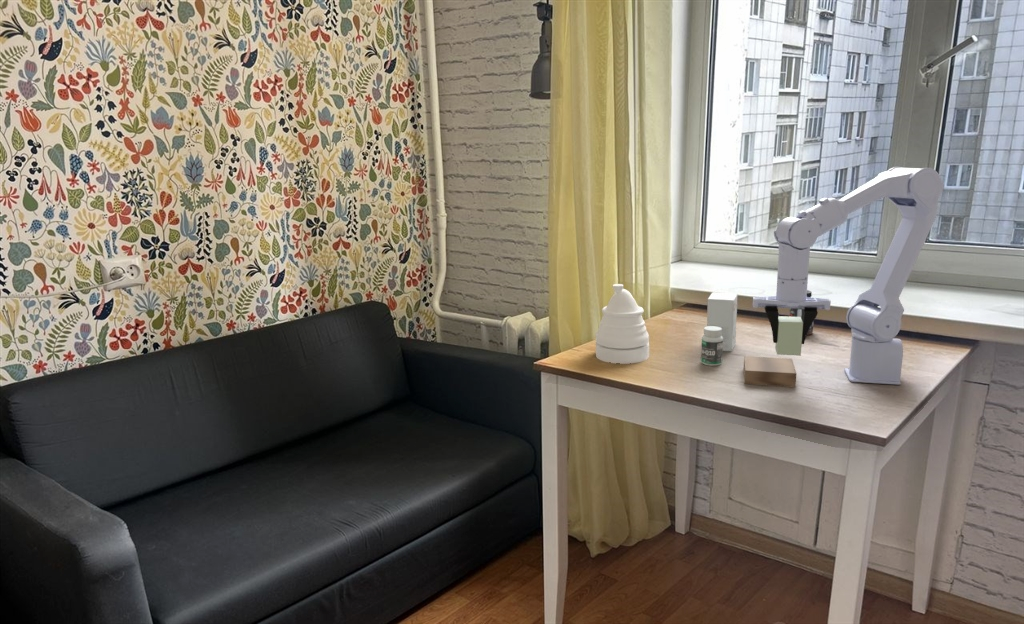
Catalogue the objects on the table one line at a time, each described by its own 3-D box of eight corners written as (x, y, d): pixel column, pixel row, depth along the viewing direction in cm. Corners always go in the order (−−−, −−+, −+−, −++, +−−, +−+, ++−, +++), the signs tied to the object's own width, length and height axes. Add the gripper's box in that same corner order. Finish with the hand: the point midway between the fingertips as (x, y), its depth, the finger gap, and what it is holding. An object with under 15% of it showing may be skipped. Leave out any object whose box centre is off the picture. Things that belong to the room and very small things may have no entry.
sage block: (798, 349, 140) (800, 316, 139) (800, 355, 136) (803, 322, 135) (775, 348, 142) (777, 316, 140) (777, 354, 137) (779, 321, 136)
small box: (710, 340, 173) (712, 291, 170) (736, 343, 171) (738, 293, 167) (705, 349, 166) (707, 298, 163) (732, 352, 163) (734, 300, 160)
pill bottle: (696, 362, 157) (697, 327, 155) (709, 358, 159) (711, 324, 157) (713, 367, 153) (714, 332, 151) (726, 363, 155) (727, 328, 153)
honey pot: (631, 367, 155) (632, 291, 151) (585, 357, 163) (584, 285, 159) (658, 353, 165) (659, 281, 160) (613, 345, 173) (613, 276, 169)
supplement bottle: (785, 329, 180) (788, 288, 178) (809, 329, 180) (812, 288, 177) (791, 335, 175) (794, 293, 172) (815, 336, 174) (818, 293, 171)
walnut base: (791, 371, 148) (792, 358, 147) (795, 387, 139) (796, 373, 138) (743, 368, 151) (744, 356, 150) (744, 383, 142) (745, 370, 141)
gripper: (755, 280, 134) (751, 345, 137) (835, 282, 129) (829, 349, 133) (753, 274, 140) (750, 336, 143) (829, 275, 136) (824, 339, 139)
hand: (788, 342), depth 138 cm, fingers closed on sage block, 4 cm apart
